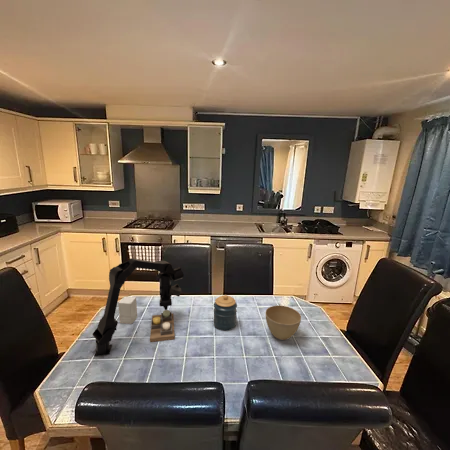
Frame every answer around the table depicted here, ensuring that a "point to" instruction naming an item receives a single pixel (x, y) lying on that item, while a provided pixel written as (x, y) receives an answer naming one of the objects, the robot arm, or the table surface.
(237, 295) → the table surface
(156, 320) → the mustard button
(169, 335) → the brown button box
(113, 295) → the robot arm
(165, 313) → the sage button
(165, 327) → the cream button
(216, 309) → the canister
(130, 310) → the supplement box
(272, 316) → the tan bowl
